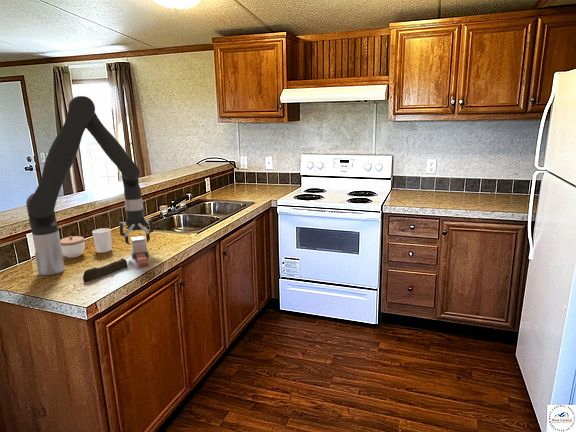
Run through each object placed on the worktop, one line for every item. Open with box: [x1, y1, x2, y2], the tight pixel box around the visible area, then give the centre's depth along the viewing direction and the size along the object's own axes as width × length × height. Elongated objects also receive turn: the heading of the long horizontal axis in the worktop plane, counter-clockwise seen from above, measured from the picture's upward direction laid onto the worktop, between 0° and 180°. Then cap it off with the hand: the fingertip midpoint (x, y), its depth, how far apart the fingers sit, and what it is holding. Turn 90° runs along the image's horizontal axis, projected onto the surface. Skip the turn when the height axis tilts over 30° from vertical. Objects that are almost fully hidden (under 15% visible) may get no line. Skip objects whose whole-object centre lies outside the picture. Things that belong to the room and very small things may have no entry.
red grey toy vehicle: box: [130, 248, 149, 269], centre depth 178 cm, size 7×21×5 cm, turn 25°
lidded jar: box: [60, 235, 86, 259], centre depth 184 cm, size 11×11×9 cm
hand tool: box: [82, 258, 128, 283], centre depth 163 cm, size 19×4×5 cm, turn 147°
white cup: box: [91, 227, 113, 254], centre depth 190 cm, size 8×8×10 cm
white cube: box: [130, 235, 148, 253], centre depth 184 cm, size 6×6×6 cm
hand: (137, 242), depth 183 cm, fingers open, 8 cm apart
